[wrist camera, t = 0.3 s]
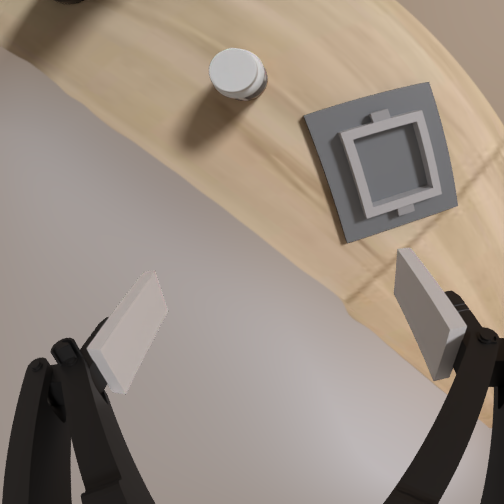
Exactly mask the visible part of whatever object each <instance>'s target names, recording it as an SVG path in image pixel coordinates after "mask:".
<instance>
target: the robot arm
mask: <svg viewBox="0 0 504 504" xmlns="http://www.w3.org/2000/svg"><path fill="white" fill-rule="evenodd" d="M54 1H56V2H59V3H62V4H74V3H78V2H81V1H83V0H54ZM394 295H395V297H396V299H397V301H398V303H399V305H400V307H401V309H402V311H403V313H404V315H405V317H406V319H407V321H408V324H409V326H410V328H411V330H412V332H413V334H414V337H415V339H416V341H417V343H418V345H419V348H420V350H421V352H422V355H423V357H424V359H425V362H426V364H427V366H428V369H429V371H430V374H431V376H432V378H433V381H436V380H440V379H444V378H448V377H450V374H451V371H452V369H453V368H454V370H455V372H456V377H455V379H454V382H453V384H452V386H451V389H450V391H449V393H448V395H447V398H446V400H445V402H444V404H443V406H442V408H441V410H440V412H439V414H438V416H437V418H436V420H435V422H434V424H433V426H432V428H431V430H430V431H429V433H428V435H427V437H426V439H425V441H424V442H423V444H422V446H421V448H420V449H419V451H418V453H417V454H416V456H415V458H414V460H413V461H412V463H411V464H410V466H409V467H408V469H407V470H406V472H405V474H404V475H403V476H402V478H401V480H400V481H399V483H398V484H397V485H396V487H395V488H394V490H393V491H392V492H391V494H390V495H389V497H388V498H387V499H386V501H385V502H384V503H383V504H438V503H439V501H440V499H441V497H442V495H443V494H444V492H445V490H446V488H447V486H448V484H449V482H450V480H451V478H452V477H453V475H454V473H455V471H456V469H457V467H458V465H459V462H460V460H461V458H462V456H463V454H464V452H465V449H466V447H467V445H468V442H469V440H470V438H471V435H472V433H473V430H474V428H475V425H476V422H477V420H478V417H479V414H480V411H481V408H482V405H483V402H484V399H485V396H486V393H487V390H488V387H494V408H493V425H492V437H491V447H490V455H489V462H488V468H487V474H486V480H485V485H484V490H483V495H482V499H481V503H480V504H504V338H499V336H498V335H497V333H496V332H494V331H493V330H491V329H489V328H484V327H482V326H481V325H480V323H479V322H478V321H477V319H476V318H475V316H474V315H473V313H472V312H471V311H470V310H469V308H468V307H467V305H466V304H465V302H464V301H463V300H462V298H461V297H460V296H459V295H457V294H456V293H454V292H453V291H446V292H444V291H443V290H442V289H441V287H440V286H439V284H438V283H437V282H436V280H435V279H434V278H433V276H432V275H431V274H430V272H429V271H428V270H427V268H426V267H425V266H424V264H423V263H422V262H421V260H420V259H419V258H418V257H417V255H416V254H415V253H414V252H413V250H412V249H411V248H402V249H397V262H396V275H395V286H394ZM167 313H168V308H167V305H166V302H165V299H164V296H163V293H162V290H161V287H160V284H159V281H158V278H157V275H156V272H155V271H146V272H143V273H142V274H141V276H140V277H139V278H138V280H137V281H136V282H135V284H134V285H133V286H132V287H131V289H130V290H129V291H128V293H127V294H126V295H125V297H124V298H123V299H122V300H121V302H120V303H119V304H118V306H117V307H116V309H115V310H114V311H113V312H112V314H111V315H110V317H107V318H105V319H104V320H103V321H102V322H100V323H99V324H98V326H97V327H96V328H95V331H93V333H92V334H91V336H90V337H89V338H88V339H87V341H86V342H85V343H84V345H83V346H82V348H81V349H79V348H78V346H77V344H76V342H75V340H74V339H72V338H65V339H62V340H60V341H58V342H57V343H56V344H54V345H53V347H52V349H51V354H52V355H53V357H54V358H55V360H56V362H57V363H58V364H56V365H50V364H49V363H48V361H47V360H46V358H38V359H35V360H34V361H32V362H31V363H30V364H29V365H28V368H27V370H26V373H25V377H24V380H23V384H22V388H21V391H20V395H19V399H18V403H17V407H16V411H15V416H14V421H13V425H12V430H11V436H10V442H9V448H8V453H7V460H6V468H5V476H4V486H3V499H2V504H72V501H71V475H70V474H71V471H70V457H71V456H70V455H71V439H72V442H73V447H74V451H75V455H76V459H77V462H78V466H79V469H80V473H81V476H82V480H83V483H84V486H85V490H86V491H85V493H82V494H81V500H82V504H155V502H154V500H153V499H152V497H151V495H150V493H149V491H148V489H147V488H146V485H145V483H144V482H143V479H142V477H141V475H140V473H139V471H138V469H137V467H136V465H135V463H134V461H133V458H132V456H131V454H130V452H129V449H128V447H127V445H126V442H125V440H124V438H123V435H122V433H121V430H120V428H119V425H118V423H117V420H116V417H115V415H114V412H113V409H112V407H111V404H110V401H109V398H108V395H107V394H106V392H105V390H104V389H105V387H106V385H107V384H108V386H109V387H110V389H111V391H112V392H113V393H120V394H126V393H127V391H128V389H129V387H130V385H131V383H132V381H133V379H134V377H135V375H136V373H137V371H138V369H139V367H140V365H141V363H142V361H143V359H144V357H145V355H146V353H147V351H148V349H149V347H150V345H151V343H152V342H153V340H154V338H155V336H156V334H157V332H158V330H159V328H160V326H161V324H162V322H163V320H164V318H165V317H166V315H167Z"/></svg>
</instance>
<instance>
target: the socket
mask: <svg viewBox="0 0 504 504" xmlns="http://www.w3.org/2000/svg"><path fill="white" fill-rule="evenodd" d="M304 119H305V121H306V124H307V126H308V129H309V131H310V134H311V137H312V139H313V142H314V145H315V147H316V150H317V153H318V155H319V158H320V161H321V164H322V167H323V170H324V172H325V175H326V178H327V181H328V184H329V187H330V190H331V193H332V196H333V199H334V202H335V205H336V209H337V212H338V215H339V218H340V221H341V225H342V228H343V231H344V235H345V238H346V241H347V243H350V242H353V241H356V240H359V239H362V238H365V237H368V236H371V235H374V234H377V233H380V232H383V231H386V230H389V229H392V228H395V227H398V226H401V225H404V224H407V223H410V222H413V221H416V220H418V219H421V218H424V217H427V216H430V215H433V214H436V213H439V212H442V211H445V210H447V209H450V208H453V207H456V206H458V203H457V196H456V189H455V183H454V178H453V172H452V167H451V162H450V157H449V152H448V148H447V143H446V139H445V135H444V131H443V127H442V123H441V120H440V116H439V113H438V109H437V106H436V102H435V99H434V96H433V93H432V90H431V87H430V84H429V82H425V83H421V84H416V85H411V86H407V87H403V88H398V89H394V90H390V91H386V92H382V93H378V94H374V95H370V96H367V97H363V98H359V99H356V100H352V101H349V102H345V103H342V104H339V105H335V106H332V107H329V108H326V109H323V110H319V111H316V112H313V113H310V114H307V115H304Z"/></svg>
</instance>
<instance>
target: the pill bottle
mask: <svg viewBox="0 0 504 504" xmlns="http://www.w3.org/2000/svg"><path fill="white" fill-rule="evenodd" d="M209 76H210V79H211V81H212V83H213V85H214V87H215V88H216V89H217V90H218V91H219V92H220V93H221V94H222V95H224V96H226V97H229V98H233V99H237V100H241V101H247V100H252V99H255V98H257V97H258V96H260V95H261V94H262V93H263V92H264V90H265V89H266V86H267V83H268V76H267V72H266V70H265V68H264V66H263V64H262V62H261V61H260V59H259V58H258V57H257V56H256V55H255V54H253V53H251V52H250V51H247V50H244V49H239V48H229V49H225V50H223V51H221V52H219V53H218V54H217V55H216V56H215V57H214V58H213V59H212V61H211V63H210V66H209Z"/></svg>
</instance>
